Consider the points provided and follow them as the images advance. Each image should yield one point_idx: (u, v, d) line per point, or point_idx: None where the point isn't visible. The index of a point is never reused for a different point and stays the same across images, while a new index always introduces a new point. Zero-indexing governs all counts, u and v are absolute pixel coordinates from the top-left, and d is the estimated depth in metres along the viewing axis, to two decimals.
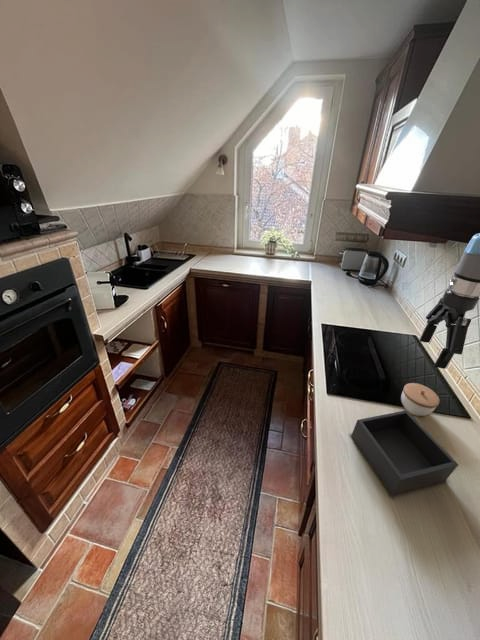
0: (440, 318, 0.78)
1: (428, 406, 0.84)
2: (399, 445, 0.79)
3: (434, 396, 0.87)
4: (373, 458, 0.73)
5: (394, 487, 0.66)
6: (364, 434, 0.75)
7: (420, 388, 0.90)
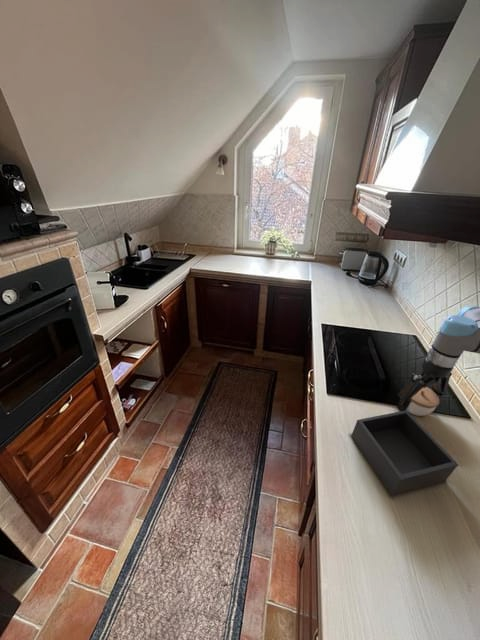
0: (433, 384, 0.87)
1: (428, 406, 0.84)
2: (399, 445, 0.79)
3: (434, 396, 0.87)
4: (373, 458, 0.73)
5: (394, 487, 0.66)
6: (364, 434, 0.75)
7: None
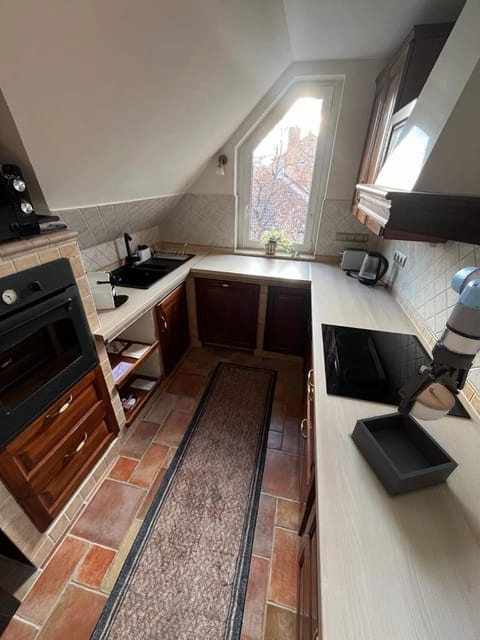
0: (447, 378, 0.65)
1: (440, 408, 0.62)
2: (399, 445, 0.79)
3: (447, 395, 0.65)
4: (373, 458, 0.73)
5: (394, 487, 0.66)
6: (364, 434, 0.75)
7: None
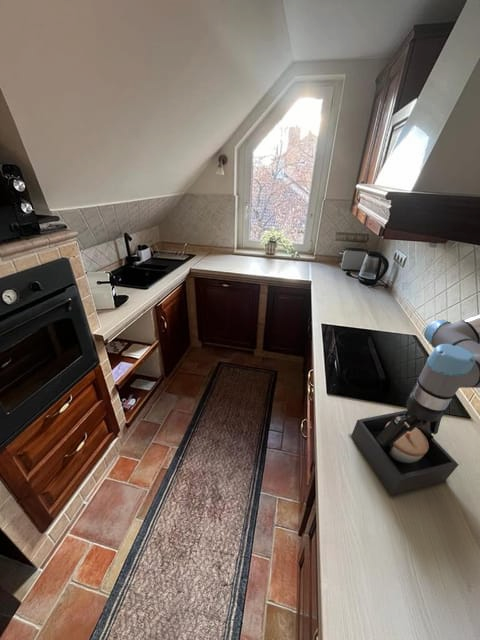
0: (421, 424, 0.70)
1: (414, 454, 0.67)
2: None
3: (422, 439, 0.71)
4: (373, 458, 0.73)
5: (394, 487, 0.66)
6: (364, 434, 0.75)
7: None
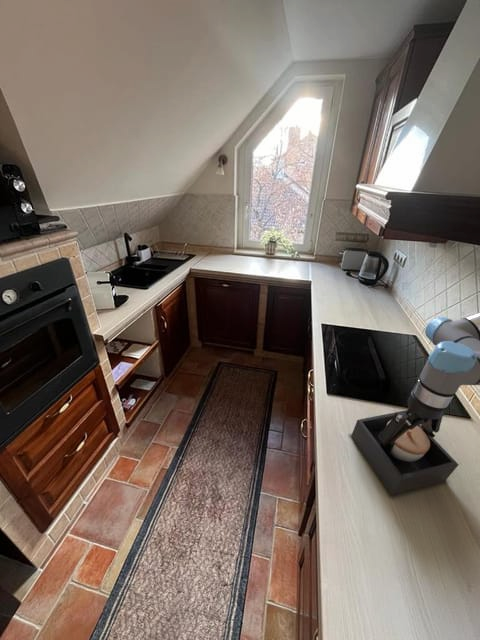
0: (423, 423, 0.70)
1: (415, 452, 0.67)
2: None
3: (423, 438, 0.70)
4: (373, 458, 0.73)
5: (394, 487, 0.66)
6: (364, 434, 0.75)
7: None
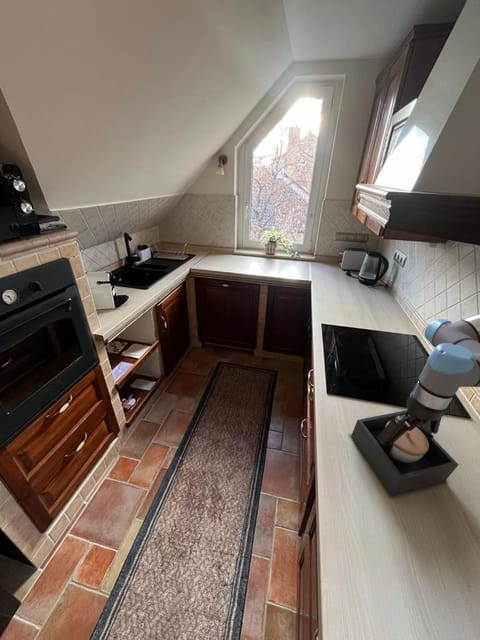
0: (422, 424, 0.70)
1: (414, 454, 0.67)
2: None
3: (422, 439, 0.70)
4: (373, 458, 0.73)
5: (394, 487, 0.66)
6: (364, 434, 0.75)
7: None
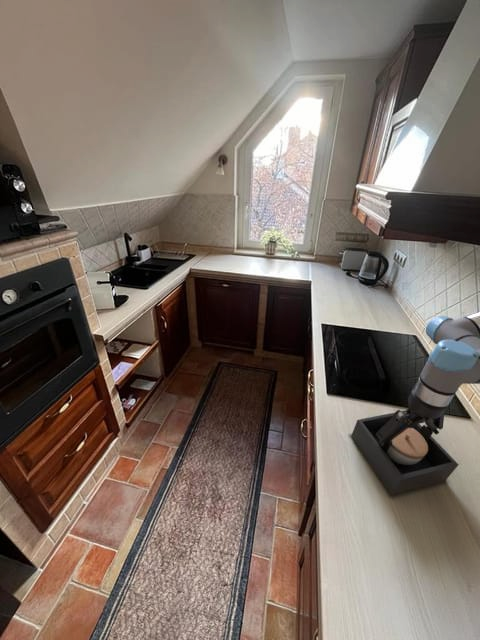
0: (425, 421, 0.70)
1: (413, 456, 0.68)
2: None
3: (421, 442, 0.71)
4: (373, 458, 0.73)
5: (394, 487, 0.66)
6: (364, 434, 0.75)
7: (405, 430, 0.74)
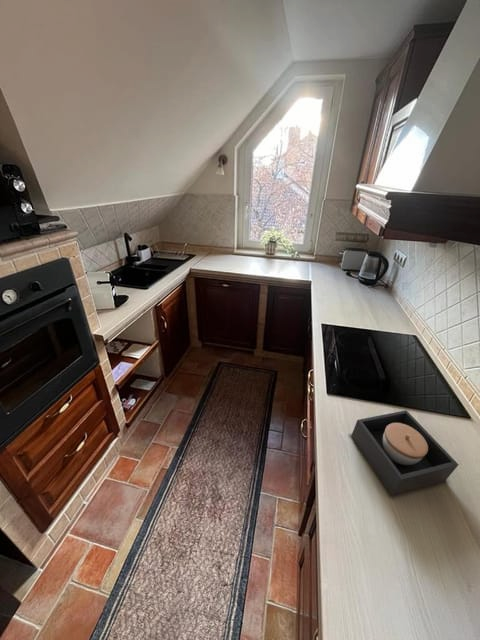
0: None
1: (413, 456, 0.68)
2: None
3: (421, 442, 0.71)
4: (373, 458, 0.73)
5: (394, 487, 0.66)
6: (364, 434, 0.75)
7: (405, 430, 0.74)
